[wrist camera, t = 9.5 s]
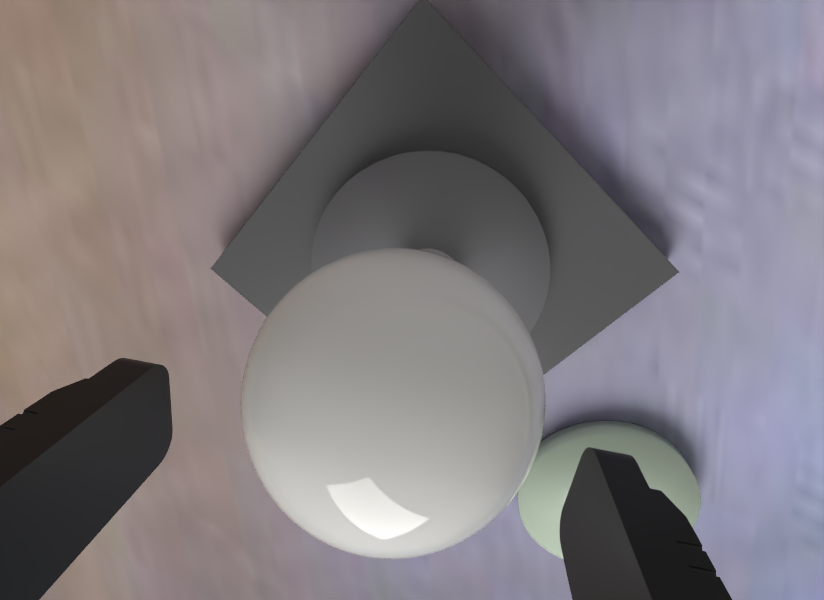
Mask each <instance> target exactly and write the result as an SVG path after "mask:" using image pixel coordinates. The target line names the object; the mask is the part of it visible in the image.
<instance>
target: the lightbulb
mask: <svg viewBox="0 0 824 600" xmlns="http://www.w3.org/2000/svg"><path fill="white" fill-rule="evenodd" d="M545 407H546V397H545V384H544V377H543V371H542V367H541V363H540V359H539V356H538V353H537V350H536V347H535V344H534V342H533V340H532V337H531V335H530V333H529V331H528V329H527V327H526V325H525V324H524V322H523V320H522V319H521V317H520V315H519V314H518V312H517V311H516V310H515V308H514V307H513V306H512V304H511V303H510V302H509V301H508V300H507V298H506V297H505V296H504V295H503V294H502V293H501V292H500V291H499V290H498V289H497V288H496V287H495V286H494V285H493V284H491V283H490V282H489V281H488V280H486V279H485V278H484V277H482V276H481V275H480V274H478V273H477V272H475V271H474V270H472V269H470V268H469V267H467V266H465V265H463V264H461V263H459V262H457V261H455V260H454V259H453V258H452V257H450V256H449V255H448V254H446V253H444V252H442V251H439V250H436V249H430V248H424V249H410V248H378V249H371V250H365V251H361V252H357V253H353V254H350V255H347V256H344V257H341V258H339V259H336V260H334V261H332V262H329V263H327V264H325V265H324V266H322V267H320V268H318V269H316V270H315V271H313V272H312V273H310V274H309V275H307V276H306V277H305V278H303V279H302V280H301V281H299V282H298V283H297V284H296V285H295V286H293V287H292V288H291V289H290V290H289V291H288V292H287V293H286V294H285V295H284V296H283V297H282V298H281V300H280V301H279V302H278V303H277V304H276V306H275V307H274V308H273V309H272V311H271V312H270V314H269V315H268V317H267V318H266V320H265V321H264V323H263V325H262V326H261V328H260V330H259V332H258V334H257V336H256V338H255V340H254V343H253V345H252V348H251V350H250V353H249V356H248V359H247V363H246V366H245V371H244V375H243V381H242V389H241V421H242V429H243V434H244V439H245V444H246V447H247V451H248V454H249V457H250V460H251V462H252V465H253V467H254V469H255V471H256V474H257V476H258V478H259V479H260V481H261V483H262V485H263V486H264V488H265V490H266V491H267V493H268V494H269V496H270V497H271V498H272V500H273V501H274V502H275V503H276V505H277V506H278V507H279V508H280V509H281V510H282V511H283V513H284V514H285V515H286V516H287V517H288V518H290V519H291V520H292V521H293V522H294V523H295V524H296V525H298V526H299V527H300V528H301V529H303V530H304V531H305V532H307V533H308V534H310V535H311V536H313V537H315V538H316V539H318V540H320V541H322V542H324V543H325V544H328V545H330V546H332V547H334V548H337V549H339V550H342V551H345V552H348V553H351V554H355V555H359V556H364V557H370V558H379V559H405V558H414V557H420V556H424V555H429V554H432V553H436V552H439V551H442V550H445V549H447V548H450V547H452V546H454V545H456V544H459V543H460V542H462V541H464V540H466V539H468V538H469V537H471V536H473V535H474V534H476V533H477V532H479V531H480V530H482V529H483V528H484V527H485V526H487V525H488V524H489V523H490V522H491V521H493V520H494V519H495V518H496V517H497V516H498V515H499V514H500V513H501V512H502V511H503V510H504V509H505V508H506V506H507V505H508V504H509V503H510V502H511V500H512V499H513V498H514V496H515V495H516V494H517V492H518V491H519V489H520V488H521V486H522V484H523V483H524V481H525V479H526V477H527V476H528V474H529V472H530V470H531V467H532V465H533V463H534V460H535V458H536V455H537V452H538V449H539V445H540V442H541V438H542V433H543V427H544V420H545Z"/></svg>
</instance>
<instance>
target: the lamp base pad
mask: <svg viewBox="0 0 824 600" xmlns="http://www.w3.org/2000/svg"><path fill="white" fill-rule="evenodd" d="M378 248H410V249H424V248H430V249H436V250H439V251H442V252H444V253H446V254H448V255H449V256H450V257H452V258H453V259H454V260H455V261H457V262H459V263H461V264H463V265H465V266H467V267H469V268H470V269H472V270H474V271H475V272H477V273H478V274H480V275H481V276H482V277H484V278H485V279H486V280H488V281H489V282H490V283H491V284H493V285H494V286H495V287H496V288H497V289H498V290H499V291H500V292H501V293H502V294H503V295H504V296H505V297H506V298H507V300H508V301H509V302H510V303H511V304H512V306H513V307H514V308H515V310H516V311H517V312H518V314H519V315H520V317H521V319H522V320H523V322H524V324H525V325H526V327H527V329H528V331H529V333H530V335H531V337H532V340H533V342H534V344H535V347H536V350H537V353H538V356H539V359H540V363H541V367H542V371H543V375H544V374H545V373H547V372H548V371H549V370H550V369H552V368H553V367H554V366H556V365H557V364H558V363H560V362H561V361H562V360H564V359H565V358H566V357H568V356H569V355H570V354H572V353H573V352H574V351H576V350H577V349H578V348H579V347H581V346H582V345H583V344H585V343H586V342H587V341H589V340H590V339H591V338H593V337H594V336H595V335H597V334H598V333H599V332H601V331H602V330H603V329H605V328H606V327H607V326H609V325H610V324H611V323H612V322H614V321H615V320H616V319H618V318H619V317H620V316H622V315H623V314H624V313H626V312H627V311H628V310H630V309H631V308H632V307H634V306H635V305H636V304H638V303H639V302H640V301H641V300H643V299H644V298H645V297H647V296H648V295H649V294H651V293H652V292H653V291H655V290H656V289H657V288H659V287H660V286H661V285H663V284H664V283H665V282H667V281H668V280H669V279H671V278H672V277H673V276H674V275H676V274H677V273H678V272H679V271H678V270H677V269H676V268H675V267H674V266H673V265H672V264H671V263H670V262H669V260H668V259H667V258H666V257H665V256H664V255H663V254H662V253H661V252H660V251H659V250H658V249H657V248H656V246H655V245H654V244H653V243H652V242H651V241H650V240H649V239H648V238H647V237H646V236H645V235H644V234H643V232H642V231H641V230H640V229H639V228H638V227H637V226H636V225H635V224H634V223H633V222H632V221H631V219H630V218H629V217H628V216H627V215H626V214H625V213H624V212H623V211H622V210H621V209H620V208H619V207H618V205H617V204H616V203H615V202H614V201H613V200H612V199H611V198H610V197H609V196H608V195H607V194H606V193H605V191H604V190H603V189H602V188H601V187H600V186H599V185H598V184H597V183H596V182H595V181H594V180H593V179H592V177H591V176H590V175H589V174H588V173H587V172H586V171H585V170H584V169H583V168H582V167H581V166H580V165H579V163H578V162H577V161H576V160H575V159H574V158H573V157H572V156H571V155H570V154H569V153H568V152H567V151H566V149H565V148H564V147H563V146H562V145H561V144H560V143H559V142H558V141H557V140H556V139H555V138H554V137H553V135H552V134H551V133H550V132H549V131H548V130H547V129H546V128H545V127H544V126H543V125H542V124H541V122H540V121H539V120H538V119H537V118H536V117H535V116H534V115H533V114H532V113H531V112H530V111H529V110H528V108H527V107H526V106H525V105H524V104H523V103H522V102H521V101H520V100H519V99H518V98H517V97H516V96H515V94H514V93H513V92H512V91H511V90H510V89H509V88H508V87H507V86H506V85H505V84H504V83H503V82H502V80H501V79H500V78H499V77H498V76H497V75H496V74H495V73H494V72H493V71H492V70H491V69H490V68H489V66H488V65H487V64H486V63H485V62H484V61H483V60H482V59H481V58H480V57H479V56H478V55H477V54H476V52H475V51H474V50H473V49H472V48H471V47H470V46H469V45H468V44H467V43H466V42H465V41H464V40H463V38H462V37H461V36H460V35H459V34H458V33H457V32H456V31H455V30H454V29H453V28H452V27H451V26H450V24H449V23H448V22H447V21H446V20H445V19H444V18H443V17H442V16H441V15H440V14H439V13H438V11H437V10H436V9H435V8H434V7H433V6H432V5H431V4H430V3H429V2H428V1H427V0H419V1H418V3H417V4H416V5H415V6H414V8H413V9H412V10H411V12H410V13H409V14H408V15H407V17H406V18H405V19H404V21H403V22H402V23H401V24H400V26H399V27H398V28H397V30H396V31H395V32H394V33H393V35H392V36H391V37H390V39H389V40H388V41H387V42H386V44H385V45H384V46H383V48H382V49H381V50H380V51H379V53H378V54H377V55H376V57H375V58H374V59H373V60H372V62H371V63H370V64H369V66H368V67H367V68H366V69H365V71H364V72H363V73H362V75H361V76H360V77H359V78H358V80H357V81H356V82H355V84H354V85H353V86H352V87H351V89H350V90H349V91H348V93H347V94H346V95H345V96H344V98H343V99H342V100H341V102H340V103H339V104H338V105H337V107H336V108H335V109H334V111H333V112H332V113H331V114H330V116H329V117H328V118H327V120H326V121H325V122H324V123H323V125H322V126H321V127H320V129H319V130H318V131H317V132H316V134H315V135H314V136H313V138H312V139H311V140H310V141H309V143H308V144H307V145H306V147H305V148H304V149H303V150H302V152H301V153H300V154H299V156H298V157H297V158H296V159H295V161H294V162H293V163H292V165H291V166H290V167H289V168H288V170H287V171H286V172H285V174H284V175H283V176H282V177H281V179H280V180H279V181H278V183H277V184H276V185H275V186H274V188H273V189H272V190H271V192H270V193H269V194H268V195H267V197H266V198H265V199H264V201H263V202H262V203H261V204H260V206H259V207H258V208H257V210H256V211H255V212H254V213H253V215H252V216H251V217H250V219H249V220H248V221H247V222H246V224H245V225H244V226H243V228H242V229H241V230H240V231H239V233H238V234H237V235H236V237H235V238H234V239H233V241H232V242H231V243H230V244H229V246H228V247H227V248H226V250H225V251H224V252H223V253H222V255H221V256H220V257H219V259H218V260H217V261H216V262H215V264H214V265H213V266H212V268H211V269H212V270H213V271H214V272H215V273H216V274H218V275H219V276H220V277H221V278H222V279H223V280H225V281H226V282H227V283H228V284H229V285H230V286H232V287H233V288H234V289H235V290H236V291H237V292H239V293H240V294H241V295H242V296H243V297H244V298H246V299H247V300H248V301H249V302H250V303H252V304H253V305H254V306H255V307H256V308H257V309H259V310H260V311H261V312H262V313H263V314H264V315H266V316H267V317H268V315H269V314H270V312H271V311H272V309H273V308H274V307H275V306H276V304H277V303H278V302H279V301H280V300H281V298H282V297H283V296H284V295H285V294H286V293H287V292H288V291H289V290H290V289H291V288H292V287H293V286H295V285H296V284H297V283H298V282H299V281H301V280H302V279H303V278H305V277H306V276H307V275H309V274H310V273H312V272H313V271H315V270H316V269H318V268H320V267H322V266H324V265H325V264H327V263H329V262H332V261H334V260H336V259H339V258H341V257H344V256H347V255H350V254H353V253H357V252H361V251H365V250H371V249H378Z"/></svg>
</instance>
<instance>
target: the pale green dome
mask: <svg viewBox="0 0 824 600" xmlns="http://www.w3.org/2000/svg"><path fill="white" fill-rule="evenodd" d="M588 447H591V448H596V449H601V450H607V451H612V452H617V453H622V454H628V455H631V456H633V457H634V458H635V460H636V462H637V463H638V465H639V467H640V470H641V472H642V474H643V476H644V478H645V480H646V482H647V484H648V486H649V488H651V489H656V490H661V491H662V492H663V493H664V494H665V495H666V496H667V497H668V498H669V499H670V500H671V501H672V502H673V503H674V505H675V506H676V507H677V508H678V509H679V510H680V511H681V512H682V513H683V514H684V515H685V516H686V517H687V519H688V521H689V523H690V524H691V526H692V528H693V526H694V524H695V522H696V520H697V518H698V515H699V511H700V505H701V495H700V489H699V486H698V483H697V480H696V478H695V476H694V474H693V472H692V471H691V469H690V467H689V466H688V464H687V462H686V461H685V459H684V458H683V456H682V455H681V453H680V452H679V451H678V449H677V448H676V447H675V446H674V445H673V444H672V443H670V442H669V441H668V440H667V439H665V438H664V437H662V436H661V435H660V434H658V433H656V432H654V431H652V430H650V429H647V428H645V427H642V426H639V425H635V424H631V423H627V422H620V421H591V422H586V423H580V424H576V425H573V426H570V427H567V428H564V429H562V430H560V431H557V432H556V433H554V434H552V435H550V436H548V437H547V438H546V439H544V440H543V441H541V442H540V445H539V449H538V452H537V455H536V458H535V460H534V463H533V465H532V467H531V470H530V472H529V474H528V476H527V477H526V479H525V481H524V483H523V484H522V486H521V488H520V489H519V491H518V492H517V494H518V503H519V511H520V515H521V519H522V522H523V524H524V526H525V528H526V529H527V531H528V532H529V534H530V535H531V536H532V538H533V539H534V540H535V541H536V542H537V543H538V544H539V545H541V546H542V547H543V548H544V549H546V550H547V551H549V552H550V553H552V554H554V555H556V556H558V557H560V558H562V559H564V558H563V554H562V549H561V544H560V518H561V512H562V509H563V506H564V503H565V500H566V497H567V494H568V492H569V489H570V486H571V483H572V481H573V478H574V475H575V472H576V469H577V467H578V464H579V461H580V458H581V456H582V454H583V452H584V450H585V449H586V448H588Z"/></svg>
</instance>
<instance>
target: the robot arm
mask: <svg viewBox="0 0 824 600" xmlns="http://www.w3.org/2000/svg"><path fill="white" fill-rule="evenodd" d="M171 439H172V415H171V400H170V385H169V374H168V371H167V369H166V368H165V367H164V366H163V365H159V364H153V363H148V362H143V361H138V360H132V359H127V358H120V359H117V360H116V361H114V362H112V363H111V364H110V365H108V366H107V367H105V368H104V369H102V370H101V371H99V372H98V373H96V374H95V375H94V376H92V377H91V378H89V379H83V380H80V381H78V382H75V383H73V384H70V385H68V386H65V387H63V388H60V389H57V390H55V391H52V392H51V393H49V394H48V395H46V396H45V397H43V398H42V399H40V400H38V401H37V402H35V403H34V404H32V405H31V406H29V407H28V408H26V409H25V410H24V412H23V414H17V415H16V416H14V417H13V418H11V419H10V420H8V421H7V422H5V423H4V424H2V425H0V600H39V599H40V598H41V597H42V596H43V595H44V594H45V592H46V591H47V590H48V589H49V588H50V587H51V586H52V585H53V583H54V582H55V581H56V580H57V579H58V578H59V577H60V576H61V574H62V573H63V572H64V571H65V570H66V569H67V568H68V567H69V565H70V564H71V563H72V562H73V561H74V560H75V559H76V558H77V556H78V555H79V554H80V553H81V552H82V551H83V550H84V549H85V547H86V546H87V545H88V544H89V543H90V542H91V541H92V540H93V538H94V537H95V536H96V535H97V534H98V533H99V532H100V531H101V529H102V528H103V527H104V526H105V525H106V524H107V523H108V522H109V520H110V519H111V518H112V517H113V516H114V515H115V514H116V513H117V511H118V510H119V509H120V508H121V507H122V506H123V505H124V504H125V502H126V501H127V500H128V499H129V498H130V497H131V496H132V495H133V494H134V492H135V491H136V490H137V489H138V488H139V487H140V486H141V485H142V483H143V482H144V481H145V480H146V479H147V478H148V477H149V476H150V474H151V473H152V472H153V471H154V470H155V469H156V468H157V467H158V465H159V464H160V463H161V462H162V460H163V459H164V457H165V455H166V453H167V451H168V449H169V446H170V443H171ZM560 544H561V549H562V554H563V558H564V563H565V567H566V572H567V576H568V581H569V585H570V590H571V594H572V599H573V600H732V599H731V597H730V595H729V593H728V591H727V590H726V588H725V586H724V584H723V582H722V581H721V579H720V577H716V570H715V568H714V566H713V564H712V562H711V561H710V559H709V557H708V555H707V553H706V552H705V551H702V544H701V543H700V541H699V539H698V537H697V535H696V533H695V532H694V530H693V528H692V526H691V524H690V523H689V521H688V519H687V517H686V516H685V515H684V514H683V513H682V512H681V511H680V510H679V509H678V508H677V507H676V506H675V505H674V503H673V502H672V501H671V500H670V499H669V498H668V497H667V496H666V495H665V494H664V493H663V492H662V491H661V490H656V489H651V488H649V486H648V484H647V482H646V480H645V478H644V476H643V474H642V472H641V470H640V467H639V465H638V463H637V462H636V460H635V458H634V457H633V456H631V455H628V454H622V453H617V452H612V451H607V450H601V449H596V448H591V447H588V448H586V449H585V450H584V452H583V454H582V456H581V458H580V461H579V464H578V467H577V469H576V472H575V475H574V478H573V481H572V483H571V486H570V489H569V492H568V494H567V497H566V500H565V503H564V506H563V509H562V512H561V518H560Z"/></svg>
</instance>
